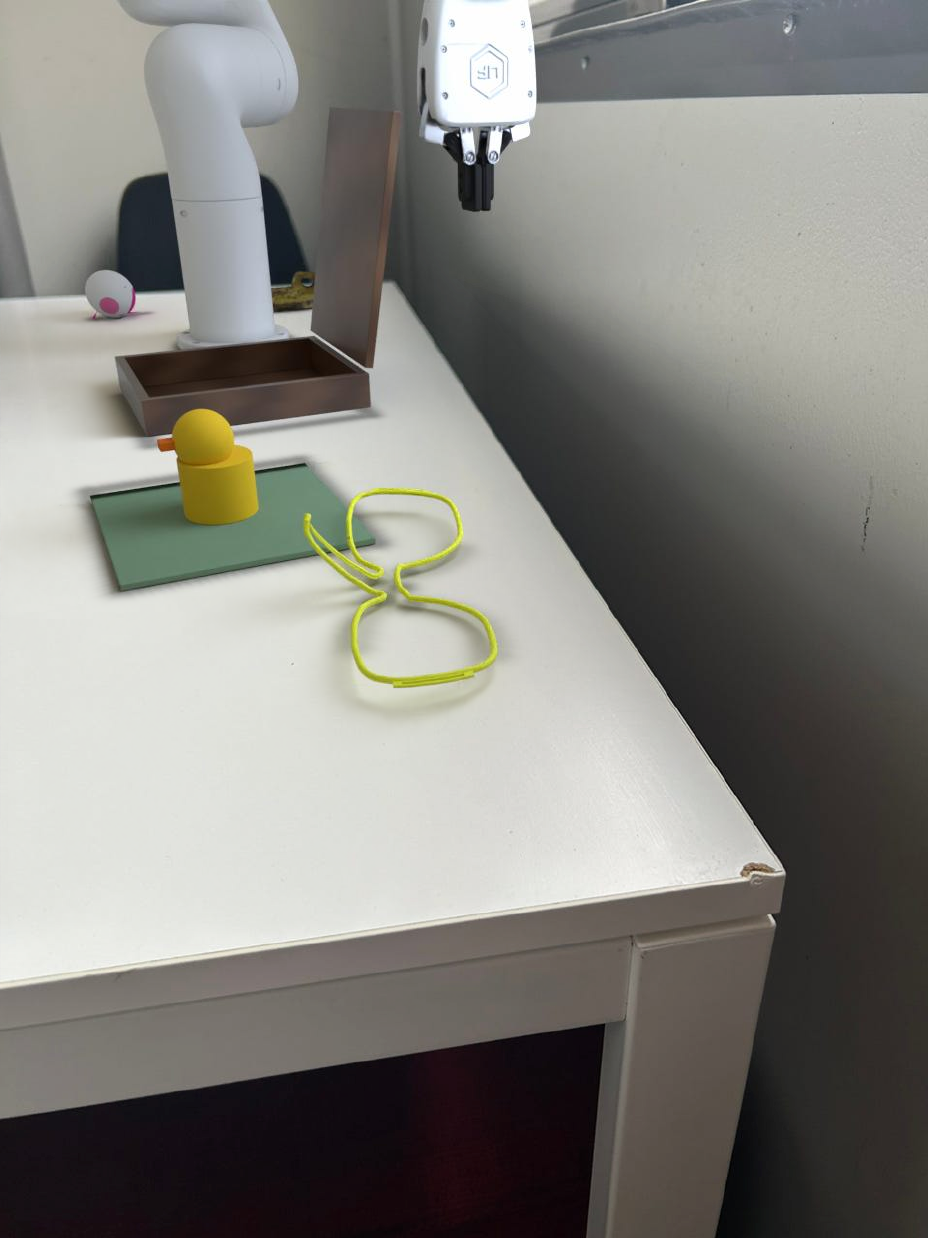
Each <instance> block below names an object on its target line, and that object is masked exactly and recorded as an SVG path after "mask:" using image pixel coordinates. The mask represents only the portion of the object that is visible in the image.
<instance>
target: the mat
mask: <svg viewBox="0 0 928 1238" xmlns="http://www.w3.org/2000/svg"><path fill="white" fill-rule="evenodd" d="M254 471H255V480H256V489H257V497H258V506H259V509H258V511H257V513H256V514H254V515H253V516H251V517H250V518H248V519H245V520H242V521H239V522H235V523H230V524H222V525H205V524H198V523H195V522H192V521H190V520H188V519H187V518H186V516H185V513H184V506H183V500H182V493H181V487H180V481H178V482H177V481H176V482H170V483H164V484H163V483H162V484H156V485H150V486H144V487H138V488H137V487H136V488H130V489H123V490H117V491H110V492H105V493H97V494H91V495H89V498H90V499H89V500H90V501H91V504H92V507H93V510H94V514H95V516H96V520H97V522H98V526H99V529H100V532H101V535H102V537H103V540H104V544H105V547H106V551H107V553H108V556H109V559H110V563H111V566H112V569H113V571H114V574H115V577H116V580H117V583H118V586H119V589H120V591H121V592H124V591H130V590H135V589H140V588H145V587H150V586H157V585H161V584H167V583H172V582H178V581H181V580H182V581H183V580H188V579H193V578H198V577H204V576H209V575H215V574H220V573H226V572H230V571H236V570H241V569H247V568H252V567H257V566H261V565H262V566H263V565H268V564H273V563H278V562H284V561H288V560H289V561H290V560H293V559H295V560H296V559H301V558H305V557H311V556H315V555H319V554H318V553H317V552H316V550H315V549H314V548H313V547H312V545H311V544H310V542H309V541H308V539H307V538H306V536H305V534H304V528H303V521H304V517H303V515H304V514H305V513H308V514H310V515H311V520H310V523H311V525H312V526H313V528H314V529H315V530H316V531H317V533H318V534H319V535H320V536H321V537H322V538H323V539H324V540H325V541H326V542H327V543H328V544H330V545H331V546H332V547H333V548H335V549H336V550H337V551H338V552H339V551H343V550H348V549H349V550H350V548H349V545H348V540H347V532H346V517H347V512H348V508H349V507H347V506H346V505H345V504H344V502H342V501H341V500H340V498H339V497H338V496H337V495H336V494H335V493H334V492H333V491H332V490H331V489H330V487H328V486H327V484H325V483H324V482H323V480H322V479H321V478H320V477H319V476H318V475H317V474H316V473H315V472H314V470H312V469H311V468H310V467H309V466H308V464H307V463H306V462H301V463H295V464H288V465H281V466H275V467H267V468H263V469H254ZM351 524H352V537H353V542H354V545H355V547H356V548H358V547H364V546H370V545H374V544H376V543H377V542H376V537H375V536H374V535H373V534H372V533H371V531H369V530H368V529H367V527H365V525H364V524H363V523H362V522H361V521H360V520H359V519H358V518H357V517H356V515H354V513H352V519H351ZM309 531H310V533H311V535H312V537H313V540H314V541H315V542H316V544H317V545H318V546H319V547H320V548H321V549H322V550H323V551H324V552H325V553H326V554H327V553H332V552H331V551H329V550H328V549H327V548H326V547H325V546H324V545H323V544H322V543H321V542H320V541H319V540H318V539H317V538H316V537H315V535H314V534H313V533H312V532H311V530H310V529H309Z"/></svg>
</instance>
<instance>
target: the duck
mask: <svg viewBox="0 0 928 1238" xmlns="http://www.w3.org/2000/svg"><path fill="white" fill-rule="evenodd" d="M156 444H157V447H158V450H159V451H160V452H161V453H164V452H171V451H174V453H175V454H176V456H177V457H176V466H177V473H178V479H179V480H178V481H179V482H180V487H181V493H182V500H183V506H184V513H185V516H186V518H187V519H188V520H190V521H192V522H195V523H198V524H205V525H222V524H230V523H235V522H239V521H242V520H245V519H248V518H250V517H251V516H253V515H254V514H256V513H257V511H258V509H259V506H258V497H257V489H256V480H255V464H254V455H253V451H252V450H251V449H250V448H249V447H247V446H243V445H238V444H235V435H234V431H233V428H232V426H230V425H229V423H228V422H227V421H226V419H225V418H224V417H222V416H221V415H220V414H218V413H216V412H214V411H212V410H208V409H195V410H192V411H189V412H187V413H185V414H184V415H183V416H181V417H180V418H179V419H178V421H177V422H176V424H175V426H174V428H173V432H172V434H171V437H166V438H164V437H163V438H157V439H156Z"/></svg>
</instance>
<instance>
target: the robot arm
mask: <svg viewBox="0 0 928 1238" xmlns="http://www.w3.org/2000/svg"><path fill="white" fill-rule="evenodd" d="M116 1H117V3H118V4H119V6H120V7H121V8H122V10H123V11H124V12H125V13H126V14H127V15H128V16H129V17H130V18H131V19H133V20H134V21H137V22H139V23H141V24H145V25H150V26H156V27H166V28H165V29H163V30H162V31H160V33H158V34H157V35H156V36H155V37H154V38H153V39H152V41H151V42H150V44H149V45H148V48H147V51H146V53H145V58H144V63H143V65H144V66H143V75H144V77H143V78H144V84H145V88H146V93H147V97H148V100H149V104H150V108H151V109H152V113H153V116H154V120H155V122H156V125H157V129H158V132H159V135H160V140H161V144H162V148H163V155H164V158H165V164H166V170H167V176H168V183H169V190H170V197H171V202H172V210H173V217H174V223H175V232H176V238H177V245H178V254H179V259H180V267H181V273H182V274H181V275H182V282H183V289H184V296H185V297H184V298H185V303H186V310H187V311H186V312H187V317H188V318H187V319H188V325H189V328H188V329H185V330H184V331H182V332H180V333H178V335H177V336H176V341H177V342H176V343H177V347H178V348H179V350H182V349H192V348H201V347H211V346H220V345H230V344H240V343H249V342H259V341H268V340H278V339H288V338H290V331H289V329H288V328H286V327H285V326H282V325H280V324H275V315H274V311H273V304H272V293H271V288H272V283H271V275H270V273H271V272H270V263H269V255H268V254H269V253H268V244H267V233H266V223H265V213H264V212H265V211H264V202H263V195H262V184H261V176H260V172H259V168H258V164H257V160H256V158H255V155H254V152H253V150H252V147H251V145H250V144H249V140H248V139H247V137H246V134H245V132H244V129H247V128H250V129H251V128H260V127H268V126H273V125H276V124H278V123H280V122H282V121H283V120H285V119H286V118H287V117H288V116H289V115H290V114H291V112H292V111H293V109H294V107H295V105H296V103H297V99H298V95H299V75H298V69H297V64H296V61H295V58H294V54H293V52H292V50H291V47H290V44H289V43H288V41H287V37H286V36H285V34H284V32H283V29H282V28H281V25H280V23H279V22H278V20H277V17H276V15H275V13H274V11H273V9H272V6H271V5H270V2H269V0H116ZM422 5H423V6H422V11H421V19H420V26H419V27H420V28H419V37H418V49H417V68H416V69H417V71H416V102H417V113H418V117H419V119H420V124H419V129H418V137H419V139H420V140H421V141H422V142H426V143H431V144H433V145H439V146H442V147H443V149H444V150H445V151H446V152H447V153H448V154H449V156H450V157H451V159H452V161H453V162H454V164H457V198H458V201H459V202H460V204H461V209H462V210H464V211H469V212H472V213H476V212H477V213H479V212H481V211H482V212H490V211H491V210H492V201H493V200H494V197H495V164H497V163H498V162H499V161H500V156H501V155H502V154H503V152H504V151H505V149H507V147H508V146H509V145H510V144H511V143H515V142H518V141H521V140H524V139H526V138H528V137H529V136H530V135H531V127H530V126H531V125H530V122H531V121H532V120H533V119H535V116H536V113H537V74H536V72H537V70H536V55H535V42H534V41H535V40H534V33H533V25H532V17H531V12H530V6H529V1H528V0H423V4H422ZM441 127H447V130H445V129H442V128H441ZM473 128H477V135H476V144H475V138H474V130H473Z"/></svg>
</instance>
